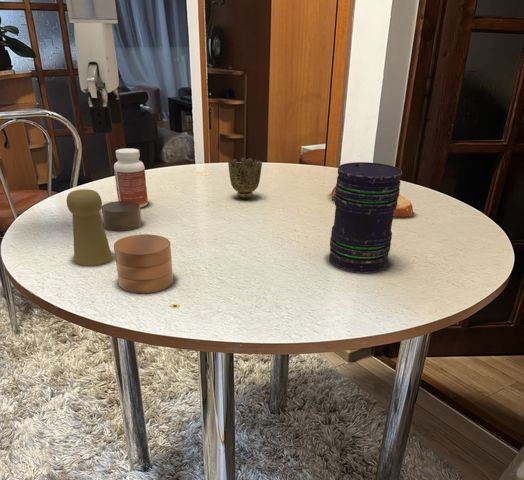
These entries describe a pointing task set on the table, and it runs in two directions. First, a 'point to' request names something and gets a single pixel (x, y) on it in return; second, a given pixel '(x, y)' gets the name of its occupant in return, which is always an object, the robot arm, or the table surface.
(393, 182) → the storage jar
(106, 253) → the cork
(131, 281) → the pile chip
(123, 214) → the walnut chip
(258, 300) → the table surface
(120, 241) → the pile chip
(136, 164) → the pill bottle
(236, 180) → the cup
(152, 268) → the pile chip
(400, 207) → the bread slice
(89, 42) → the robot arm
